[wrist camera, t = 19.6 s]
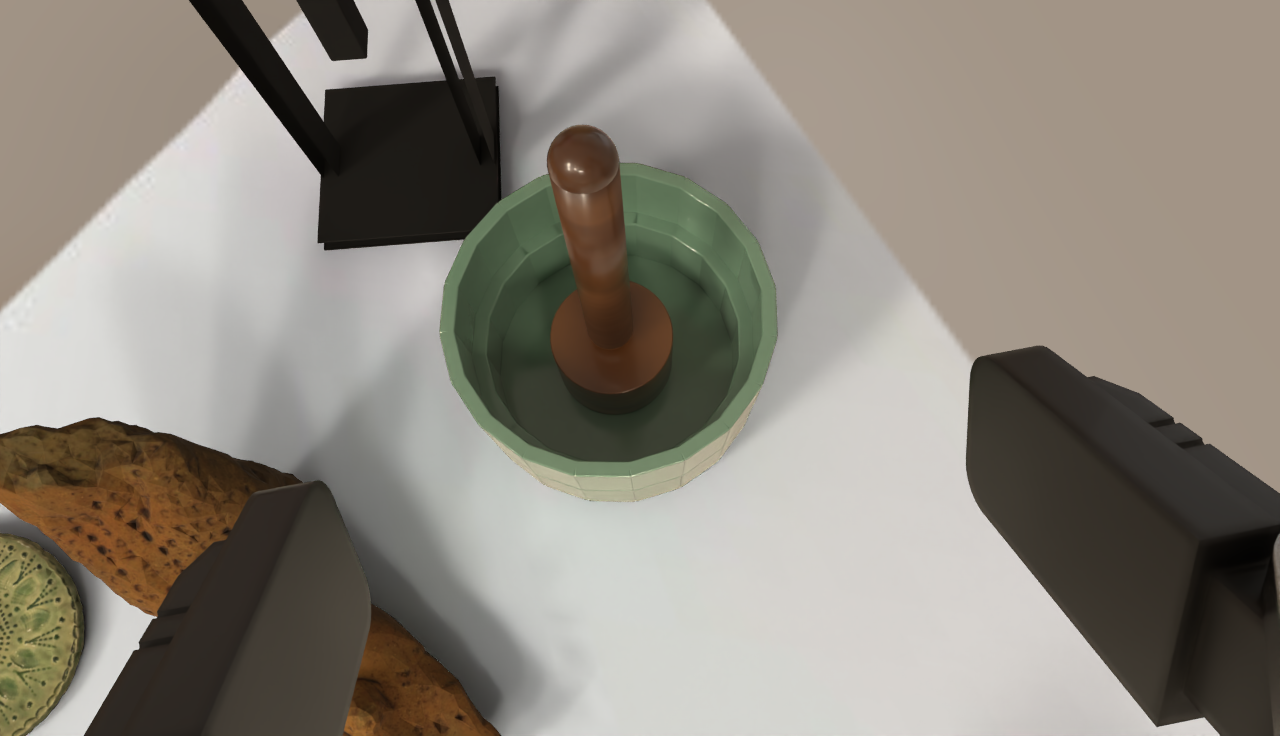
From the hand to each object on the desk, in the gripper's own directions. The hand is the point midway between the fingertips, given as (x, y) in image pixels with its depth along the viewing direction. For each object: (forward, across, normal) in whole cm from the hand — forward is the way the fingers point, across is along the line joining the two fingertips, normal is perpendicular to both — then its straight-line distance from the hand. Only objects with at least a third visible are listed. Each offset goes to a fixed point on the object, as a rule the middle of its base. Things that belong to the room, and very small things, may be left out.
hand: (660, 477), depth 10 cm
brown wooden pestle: (+20, 0, +8) cm, 21 cm away
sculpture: (+15, +12, +14) cm, 24 cm away
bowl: (+20, 0, +9) cm, 22 cm away
